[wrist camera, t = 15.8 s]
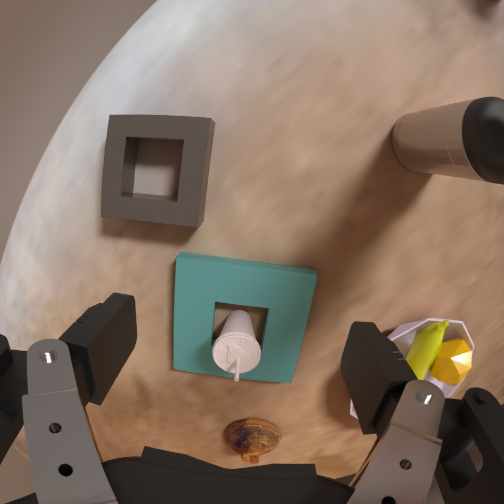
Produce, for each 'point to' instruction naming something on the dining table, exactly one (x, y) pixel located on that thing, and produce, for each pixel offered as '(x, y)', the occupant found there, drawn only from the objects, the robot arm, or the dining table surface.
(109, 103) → the dining table surface
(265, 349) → the low socket
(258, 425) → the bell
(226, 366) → the smoothie
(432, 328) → the fruit bowl
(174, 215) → the tall socket
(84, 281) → the dining table surface
